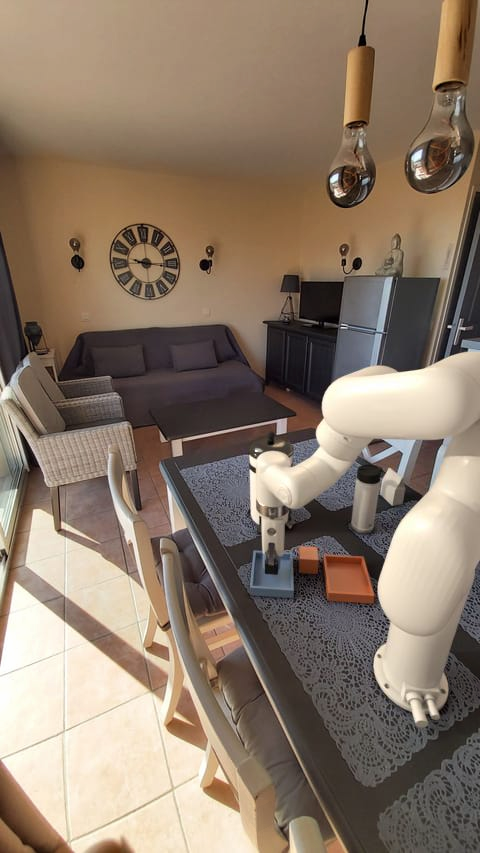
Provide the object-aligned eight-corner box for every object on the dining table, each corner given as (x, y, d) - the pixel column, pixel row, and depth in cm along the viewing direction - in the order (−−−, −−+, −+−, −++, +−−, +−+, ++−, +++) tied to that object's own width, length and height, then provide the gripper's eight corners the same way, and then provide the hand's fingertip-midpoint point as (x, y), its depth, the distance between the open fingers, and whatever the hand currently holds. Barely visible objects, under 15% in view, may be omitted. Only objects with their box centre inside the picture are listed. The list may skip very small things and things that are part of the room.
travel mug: (375, 535, 103) (384, 474, 95) (351, 532, 104) (358, 472, 96) (373, 521, 108) (381, 463, 101) (350, 519, 110) (356, 461, 102)
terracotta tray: (373, 603, 82) (374, 595, 81) (327, 600, 83) (328, 592, 82) (362, 563, 93) (363, 556, 92) (322, 561, 94) (323, 554, 93)
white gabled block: (392, 505, 115) (396, 479, 111) (380, 494, 121) (383, 468, 117) (402, 504, 116) (407, 477, 112) (389, 492, 122) (393, 466, 118)
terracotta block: (317, 574, 90) (318, 560, 89) (299, 573, 91) (299, 559, 89) (316, 560, 95) (317, 547, 93) (298, 559, 95) (299, 546, 93)
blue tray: (293, 598, 84) (293, 590, 83) (249, 595, 85) (249, 587, 84) (292, 559, 95) (292, 552, 94) (253, 557, 96) (253, 550, 95)
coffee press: (304, 514, 113) (309, 426, 101) (280, 544, 101) (282, 448, 89) (257, 497, 122) (256, 414, 110) (230, 522, 110) (225, 433, 98)
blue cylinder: (280, 573, 87) (280, 558, 85) (262, 572, 87) (262, 556, 85) (280, 559, 91) (281, 544, 89) (263, 558, 91) (263, 543, 89)
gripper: (290, 529, 73) (287, 594, 81) (288, 484, 89) (286, 542, 96) (253, 527, 74) (253, 592, 82) (258, 483, 90) (258, 541, 97)
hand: (271, 564), depth 89 cm, fingers closed on blue cylinder, 4 cm apart
